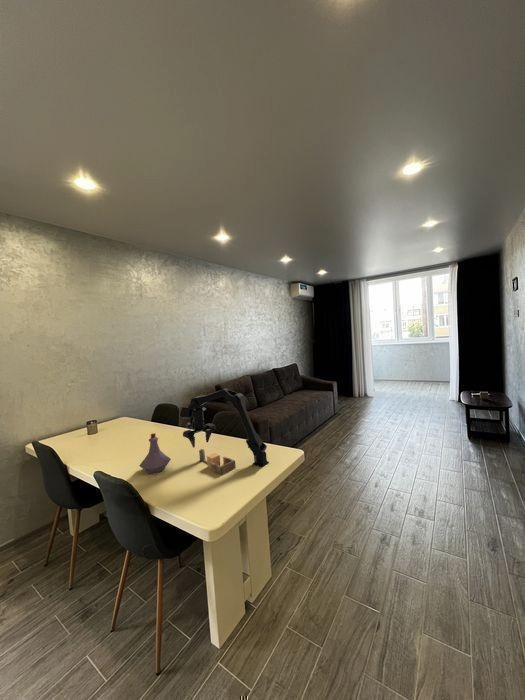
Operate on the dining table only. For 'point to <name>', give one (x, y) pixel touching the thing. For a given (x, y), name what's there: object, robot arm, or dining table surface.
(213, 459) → the tethered block
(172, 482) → the dining table surface
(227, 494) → the dining table surface
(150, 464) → the flask
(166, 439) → the dining table surface
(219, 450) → the dining table surface
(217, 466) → the dark brown open box
